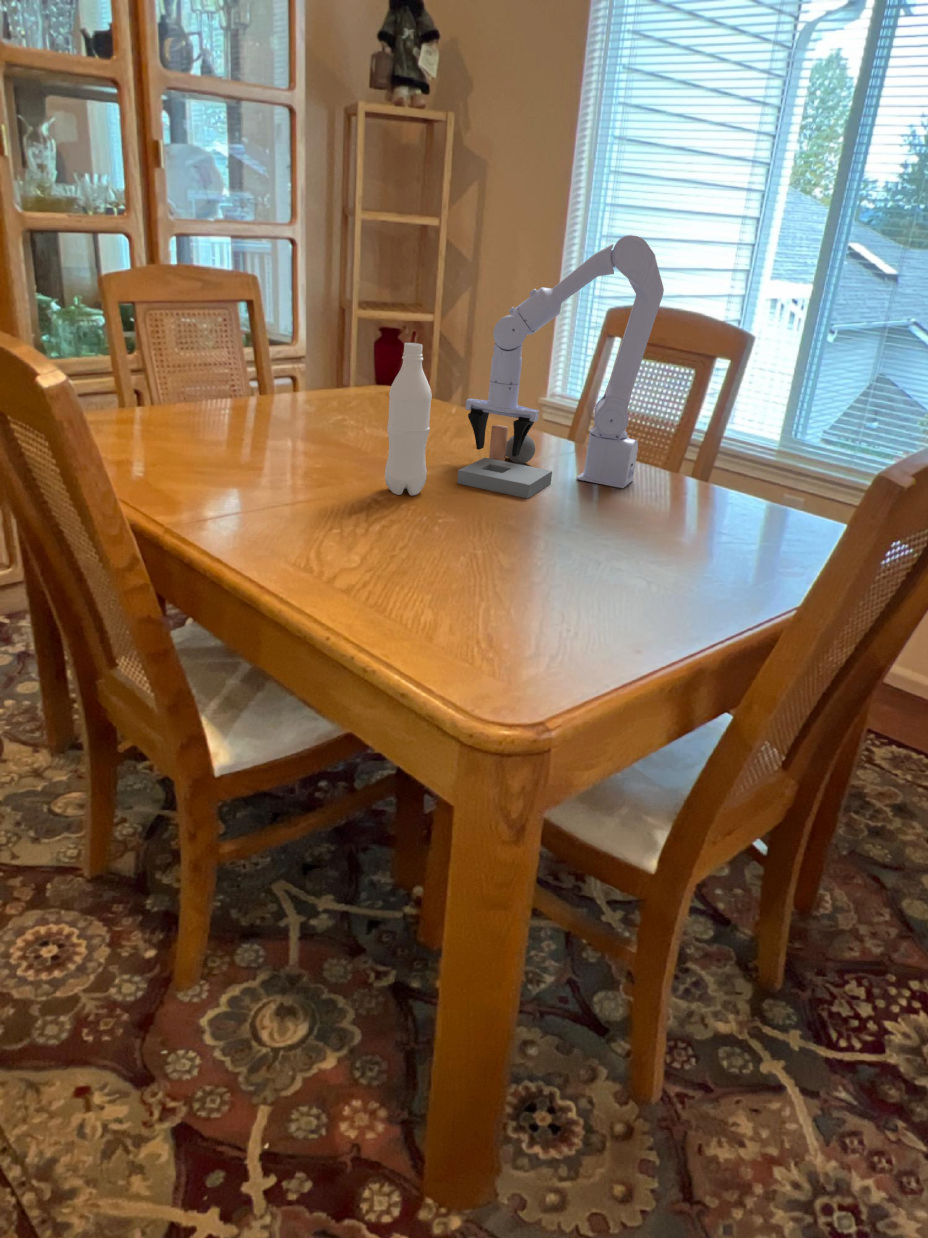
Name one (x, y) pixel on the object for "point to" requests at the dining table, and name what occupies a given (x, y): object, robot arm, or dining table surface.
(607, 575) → the dining table surface
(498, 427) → the peg
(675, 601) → the dining table surface
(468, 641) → the dining table surface
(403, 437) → the water bottle
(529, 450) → the light bulb
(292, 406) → the dining table surface
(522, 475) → the socket board
